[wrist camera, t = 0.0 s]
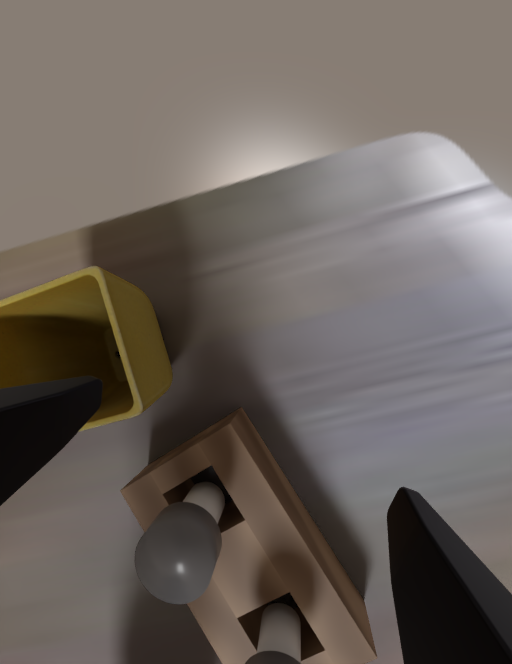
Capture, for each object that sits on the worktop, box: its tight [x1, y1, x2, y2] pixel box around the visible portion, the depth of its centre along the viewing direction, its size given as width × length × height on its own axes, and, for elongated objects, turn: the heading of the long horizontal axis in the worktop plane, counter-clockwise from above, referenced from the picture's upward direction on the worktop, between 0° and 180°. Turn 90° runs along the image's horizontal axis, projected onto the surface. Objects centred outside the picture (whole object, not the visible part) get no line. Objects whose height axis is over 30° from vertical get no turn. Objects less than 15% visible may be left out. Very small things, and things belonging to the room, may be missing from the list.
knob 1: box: [135, 481, 225, 604], centre depth 19 cm, size 4×4×6 cm
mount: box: [120, 407, 377, 664], centre depth 22 cm, size 10×18×4 cm, turn 33°
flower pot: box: [0, 266, 173, 432], centre depth 21 cm, size 9×9×9 cm
